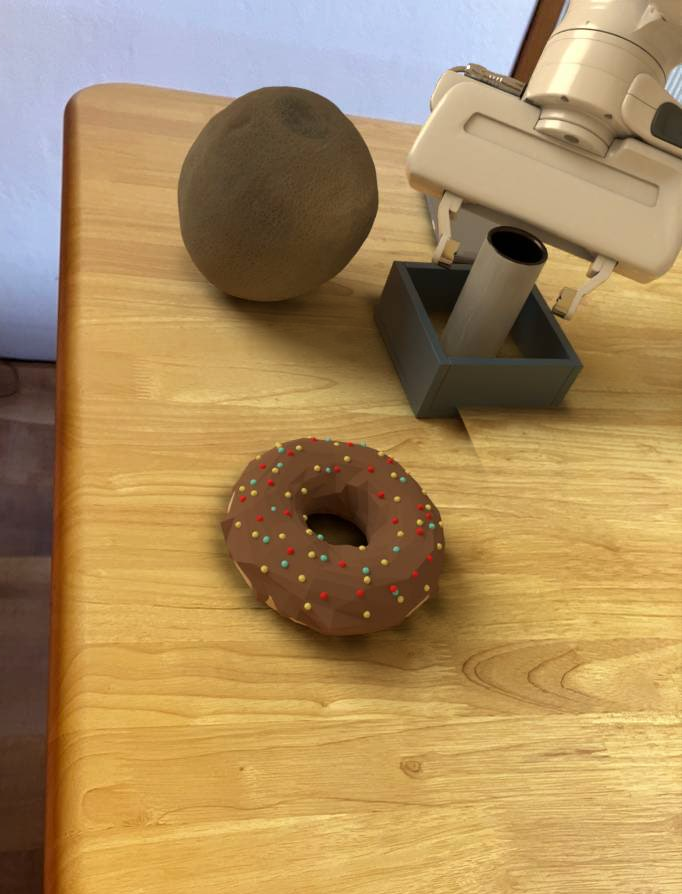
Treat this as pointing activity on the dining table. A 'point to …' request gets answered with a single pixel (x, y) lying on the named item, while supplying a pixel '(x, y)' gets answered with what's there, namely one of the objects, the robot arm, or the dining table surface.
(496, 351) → the beige hollow cylinder
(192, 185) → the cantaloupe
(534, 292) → the bin
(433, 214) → the smartphone
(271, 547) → the donut
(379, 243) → the dining table surface
